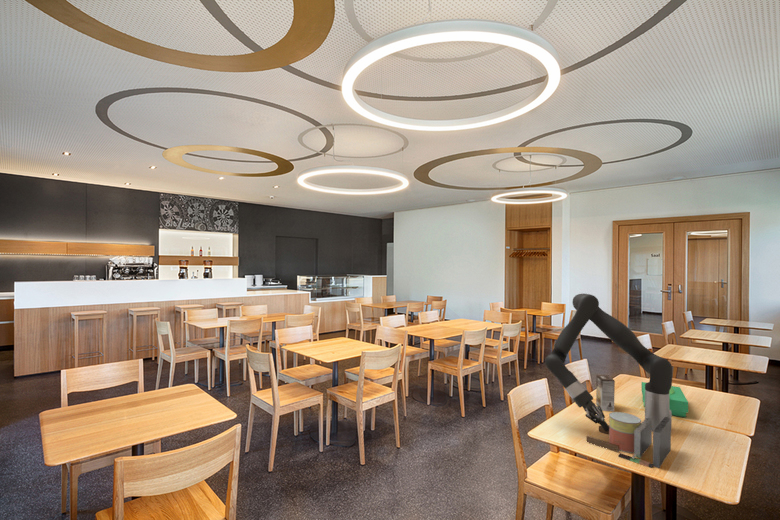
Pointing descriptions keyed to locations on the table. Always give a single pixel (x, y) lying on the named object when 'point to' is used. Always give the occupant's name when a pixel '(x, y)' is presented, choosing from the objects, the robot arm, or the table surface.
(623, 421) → the canned food
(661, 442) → the frame
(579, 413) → the table surface
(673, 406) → the green box
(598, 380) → the coffee box
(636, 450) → the steel plate
